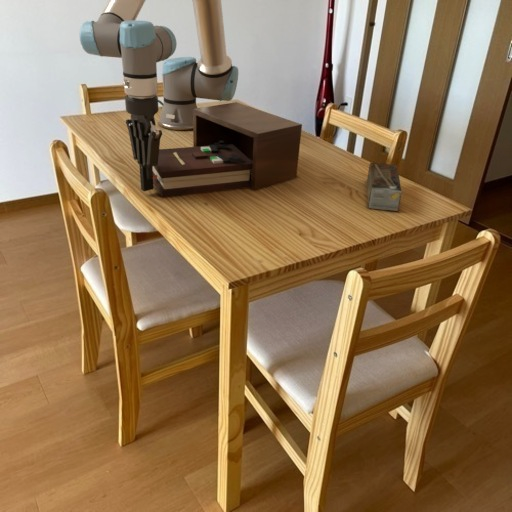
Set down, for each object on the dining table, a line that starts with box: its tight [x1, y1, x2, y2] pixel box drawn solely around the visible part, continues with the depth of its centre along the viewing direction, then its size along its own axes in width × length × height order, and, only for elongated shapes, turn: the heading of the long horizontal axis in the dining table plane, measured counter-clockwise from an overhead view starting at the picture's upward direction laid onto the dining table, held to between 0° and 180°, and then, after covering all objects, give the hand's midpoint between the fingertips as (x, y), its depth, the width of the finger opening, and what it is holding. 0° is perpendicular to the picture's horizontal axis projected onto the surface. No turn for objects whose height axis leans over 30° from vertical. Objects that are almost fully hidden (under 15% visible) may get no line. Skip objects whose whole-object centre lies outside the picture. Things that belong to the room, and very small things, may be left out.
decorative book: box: [152, 141, 253, 198], centre depth 133 cm, size 19×8×30 cm
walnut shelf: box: [192, 101, 303, 191], centre depth 140 cm, size 28×16×16 cm, turn 42°
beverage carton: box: [366, 162, 402, 212], centre depth 131 cm, size 8×19×7 cm, turn 170°
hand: (147, 189), depth 124 cm, fingers closed
